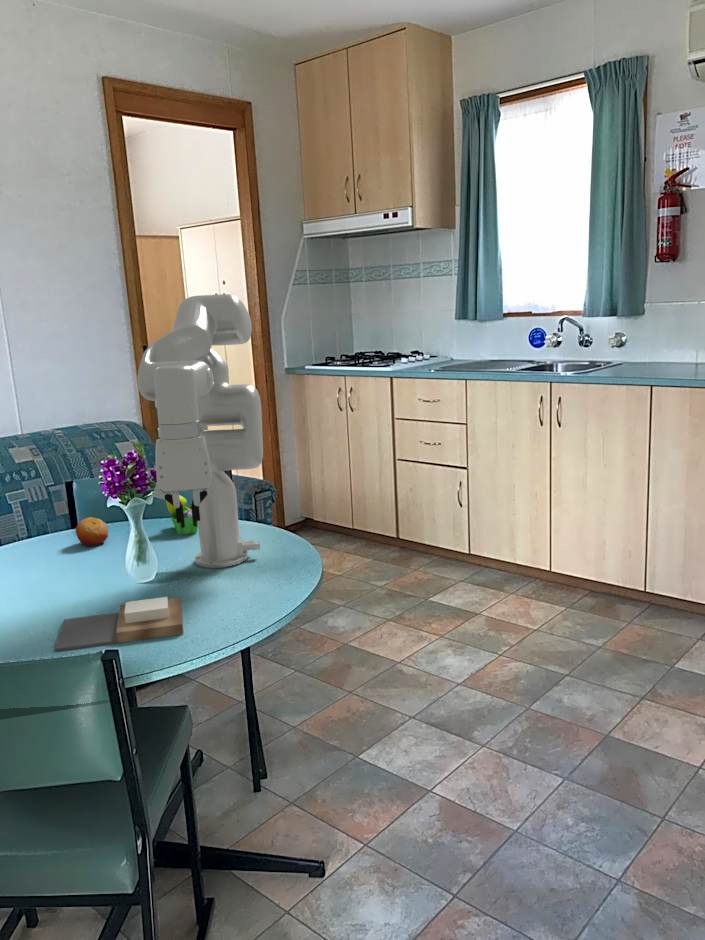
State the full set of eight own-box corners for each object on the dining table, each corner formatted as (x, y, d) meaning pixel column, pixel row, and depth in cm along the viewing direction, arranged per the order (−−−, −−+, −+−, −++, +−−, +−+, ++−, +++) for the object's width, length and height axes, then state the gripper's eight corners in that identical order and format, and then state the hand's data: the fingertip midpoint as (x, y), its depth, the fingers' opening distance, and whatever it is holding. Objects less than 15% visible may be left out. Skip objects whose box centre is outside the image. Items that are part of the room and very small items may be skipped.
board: (181, 606, 160) (180, 597, 160) (183, 633, 147) (182, 623, 146) (121, 614, 157) (120, 605, 157) (117, 642, 144) (116, 632, 144)
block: (168, 606, 155) (167, 596, 155) (168, 617, 150) (167, 607, 149) (127, 611, 154) (125, 602, 153) (125, 623, 148) (124, 613, 147)
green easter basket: (201, 534, 210) (197, 493, 208) (168, 537, 208) (164, 496, 206) (200, 522, 221) (197, 484, 219) (169, 526, 219) (164, 487, 217)
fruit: (91, 531, 212) (98, 509, 208) (109, 549, 209) (115, 527, 205) (65, 539, 206) (72, 516, 202) (83, 558, 203) (89, 535, 199)
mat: (121, 614, 157) (121, 612, 157) (117, 642, 144) (117, 640, 144) (64, 621, 155) (64, 619, 155) (54, 651, 142) (54, 648, 142)
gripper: (220, 425, 151) (228, 516, 155) (137, 431, 148) (147, 524, 152) (223, 430, 144) (231, 526, 148) (135, 438, 141) (146, 535, 145)
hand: (188, 524), depth 150 cm, fingers closed
